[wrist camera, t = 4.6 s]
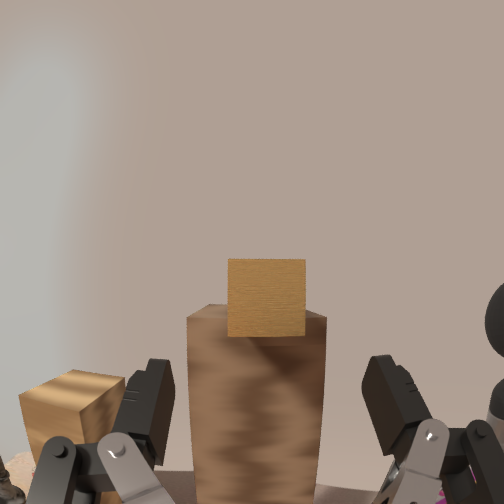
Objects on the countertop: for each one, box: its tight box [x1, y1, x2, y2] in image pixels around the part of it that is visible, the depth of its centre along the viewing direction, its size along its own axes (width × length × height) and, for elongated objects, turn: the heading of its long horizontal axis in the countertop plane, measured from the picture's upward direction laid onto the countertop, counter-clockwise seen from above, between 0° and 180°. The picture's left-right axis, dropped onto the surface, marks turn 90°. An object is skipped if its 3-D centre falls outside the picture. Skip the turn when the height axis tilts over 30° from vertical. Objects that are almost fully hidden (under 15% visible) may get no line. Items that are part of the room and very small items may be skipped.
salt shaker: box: [0, 456, 26, 504], centre depth 20 cm, size 6×6×12 cm
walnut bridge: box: [187, 304, 327, 504], centre depth 28 cm, size 10×16×31 cm, turn 2°
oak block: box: [19, 370, 126, 504], centre depth 28 cm, size 13×8×21 cm, turn 2°
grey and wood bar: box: [228, 259, 306, 337], centre depth 26 cm, size 24×4×4 cm, turn 2°
